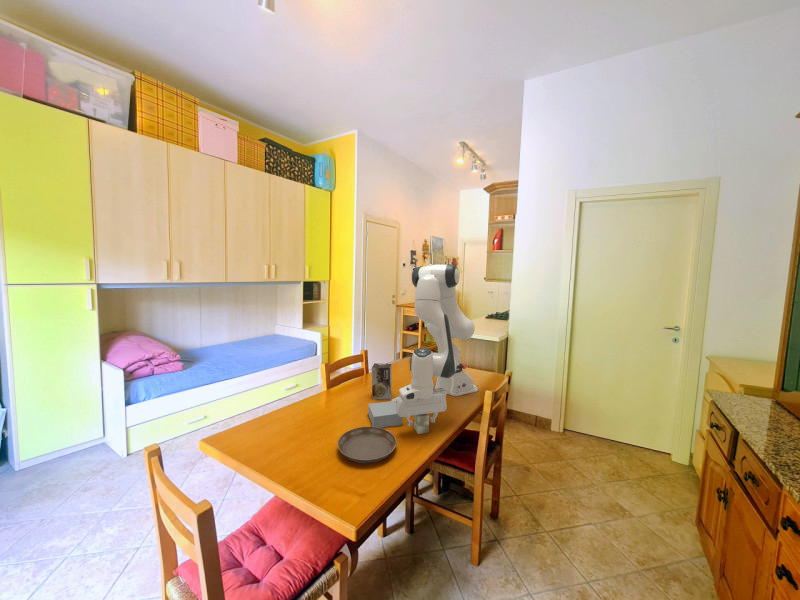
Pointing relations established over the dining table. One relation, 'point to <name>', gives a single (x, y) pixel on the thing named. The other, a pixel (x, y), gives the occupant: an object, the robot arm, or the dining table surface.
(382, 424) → the plinth
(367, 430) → the plant saucer
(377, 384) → the coffee box
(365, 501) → the dining table surface
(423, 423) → the sage block
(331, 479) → the dining table surface
